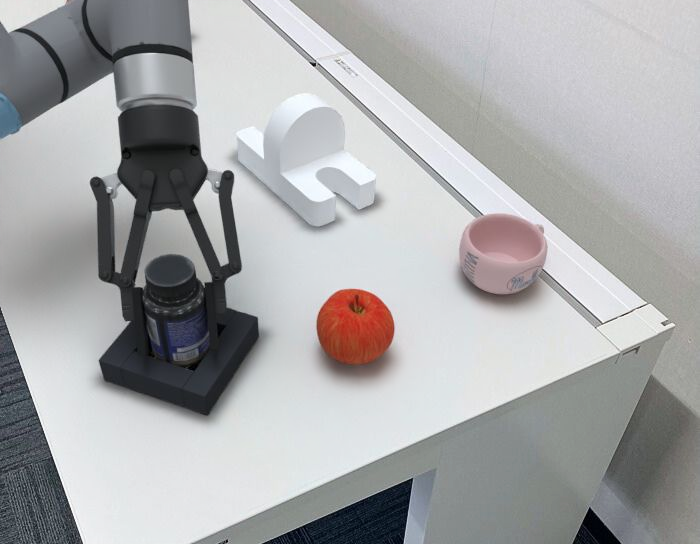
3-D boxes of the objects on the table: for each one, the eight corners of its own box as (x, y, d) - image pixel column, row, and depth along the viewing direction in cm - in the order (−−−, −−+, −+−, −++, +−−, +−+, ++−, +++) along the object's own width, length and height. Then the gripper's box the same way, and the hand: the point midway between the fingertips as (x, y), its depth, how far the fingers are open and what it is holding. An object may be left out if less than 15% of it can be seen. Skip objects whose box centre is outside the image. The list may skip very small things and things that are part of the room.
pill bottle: (220, 335, 82) (212, 255, 74) (200, 377, 78) (189, 297, 70) (166, 323, 82) (152, 243, 74) (142, 364, 78) (125, 284, 70)
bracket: (234, 157, 106) (229, 79, 98) (295, 135, 111) (294, 59, 102) (314, 228, 96) (316, 150, 88) (377, 201, 101) (385, 124, 93)
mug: (496, 317, 87) (506, 278, 83) (437, 269, 92) (444, 230, 88) (566, 276, 93) (579, 238, 88) (507, 233, 98) (516, 195, 93)
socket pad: (103, 379, 78) (98, 360, 76) (163, 305, 86) (159, 286, 84) (207, 415, 76) (205, 396, 74) (259, 336, 83) (258, 316, 81)
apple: (300, 351, 82) (300, 296, 76) (350, 313, 87) (354, 259, 81) (356, 391, 79) (360, 337, 73) (405, 350, 83) (413, 296, 77)
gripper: (256, 118, 79) (275, 342, 80) (63, 126, 76) (85, 358, 77) (258, 97, 71) (279, 345, 73) (44, 105, 69) (69, 362, 70)
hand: (179, 351), depth 75 cm, fingers closed on pill bottle, 6 cm apart
